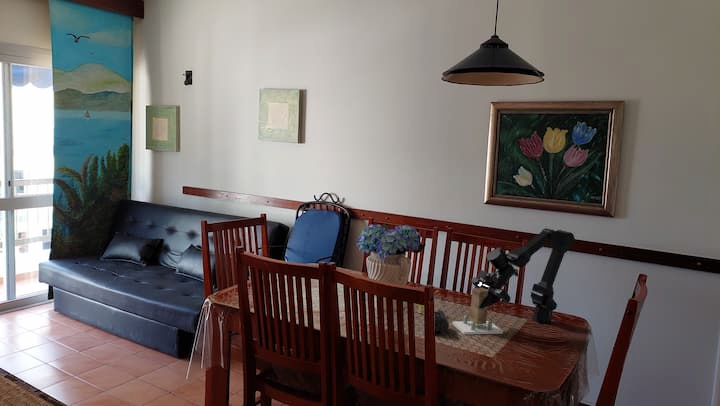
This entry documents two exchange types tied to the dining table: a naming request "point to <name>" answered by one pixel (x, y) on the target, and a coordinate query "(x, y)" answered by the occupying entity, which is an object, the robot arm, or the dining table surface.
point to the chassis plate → (476, 327)
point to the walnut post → (478, 306)
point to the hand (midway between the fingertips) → (476, 305)
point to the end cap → (441, 323)
